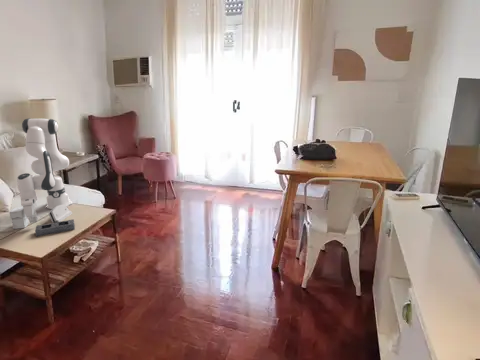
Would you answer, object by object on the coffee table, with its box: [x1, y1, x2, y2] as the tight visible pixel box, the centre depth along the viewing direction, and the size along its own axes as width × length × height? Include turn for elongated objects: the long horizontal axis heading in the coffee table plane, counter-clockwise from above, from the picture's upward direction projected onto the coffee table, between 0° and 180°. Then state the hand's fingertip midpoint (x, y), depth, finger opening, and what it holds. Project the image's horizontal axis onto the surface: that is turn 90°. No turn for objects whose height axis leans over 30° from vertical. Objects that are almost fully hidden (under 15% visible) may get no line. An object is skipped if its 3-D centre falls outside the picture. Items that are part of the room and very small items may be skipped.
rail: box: [34, 219, 76, 238], centre depth 223 cm, size 8×22×4 cm, turn 115°
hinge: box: [48, 204, 73, 223], centre depth 242 cm, size 17×5×10 cm, turn 174°
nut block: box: [28, 209, 39, 224], centre depth 226 cm, size 4×4×8 cm
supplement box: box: [9, 206, 30, 230], centre depth 230 cm, size 7×7×13 cm
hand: (33, 217), depth 227 cm, fingers closed on nut block, 4 cm apart
